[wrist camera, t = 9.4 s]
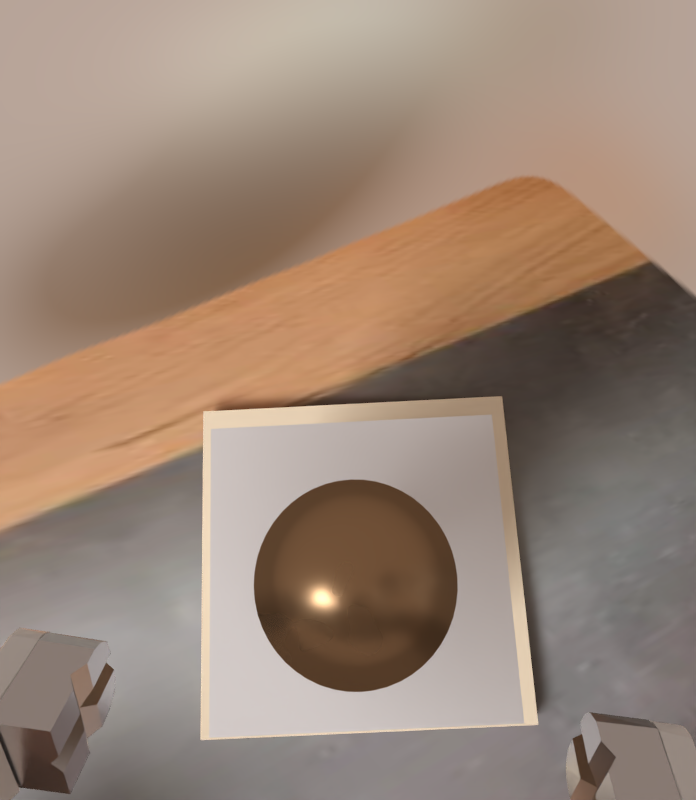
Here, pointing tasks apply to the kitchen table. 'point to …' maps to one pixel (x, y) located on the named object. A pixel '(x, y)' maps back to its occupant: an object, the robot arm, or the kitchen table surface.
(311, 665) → the plunger
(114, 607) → the kitchen table surface
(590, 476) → the kitchen table surface
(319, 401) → the kitchen table surface
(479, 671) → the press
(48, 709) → the robot arm
